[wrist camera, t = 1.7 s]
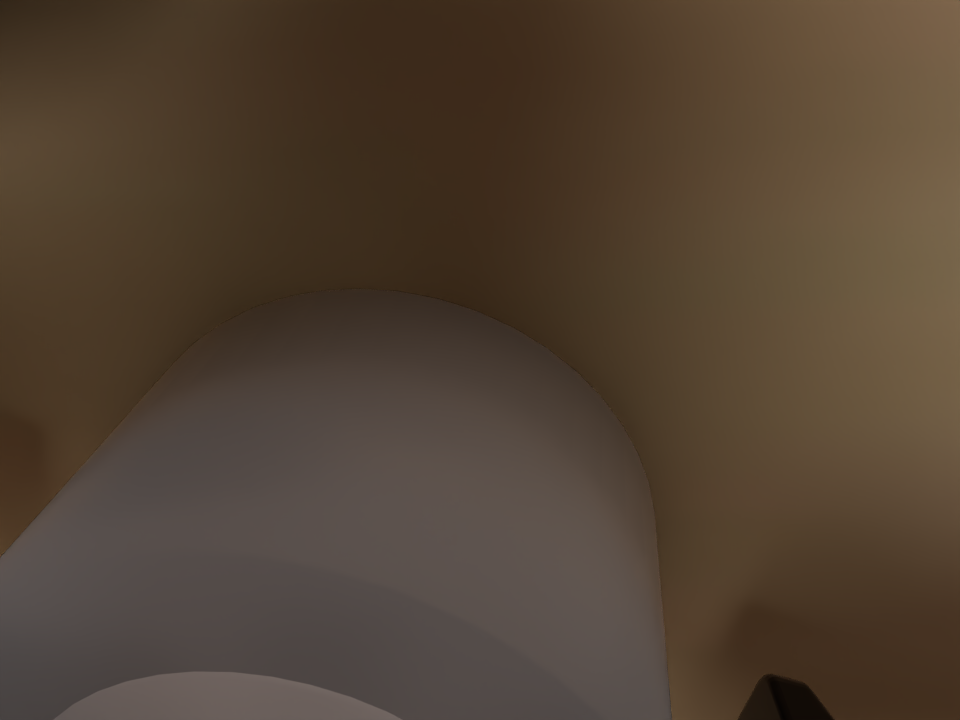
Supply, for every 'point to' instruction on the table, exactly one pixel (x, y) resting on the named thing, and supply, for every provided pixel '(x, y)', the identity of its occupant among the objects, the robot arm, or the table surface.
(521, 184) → the table surface
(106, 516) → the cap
